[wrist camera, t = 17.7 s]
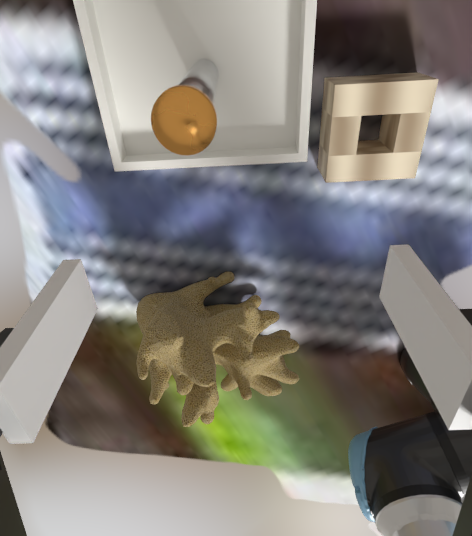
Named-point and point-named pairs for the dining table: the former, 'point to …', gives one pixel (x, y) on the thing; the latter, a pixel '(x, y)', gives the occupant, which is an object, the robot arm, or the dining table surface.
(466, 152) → the dining table surface
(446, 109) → the dining table surface
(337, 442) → the dining table surface
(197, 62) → the steel pin
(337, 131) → the pin block
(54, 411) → the dining table surface
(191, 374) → the decorative coral
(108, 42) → the tray
